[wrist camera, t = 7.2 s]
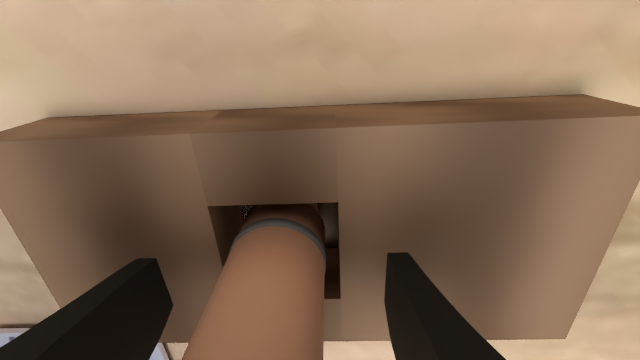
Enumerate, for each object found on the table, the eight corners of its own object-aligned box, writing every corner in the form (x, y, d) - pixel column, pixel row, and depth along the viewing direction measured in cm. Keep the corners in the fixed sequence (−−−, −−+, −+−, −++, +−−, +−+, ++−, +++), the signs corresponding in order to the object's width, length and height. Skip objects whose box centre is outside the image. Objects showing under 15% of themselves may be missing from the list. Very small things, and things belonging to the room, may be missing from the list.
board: (125, 289, 15) (81, 343, 13) (47, 117, 12) (-39, 143, 9) (521, 282, 15) (565, 339, 12) (583, 94, 11) (670, 114, 8)
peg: (259, 243, 14) (164, 532, 6) (244, 180, 13) (91, 447, 4) (329, 239, 14) (332, 531, 6) (322, 174, 12) (311, 442, 4)
